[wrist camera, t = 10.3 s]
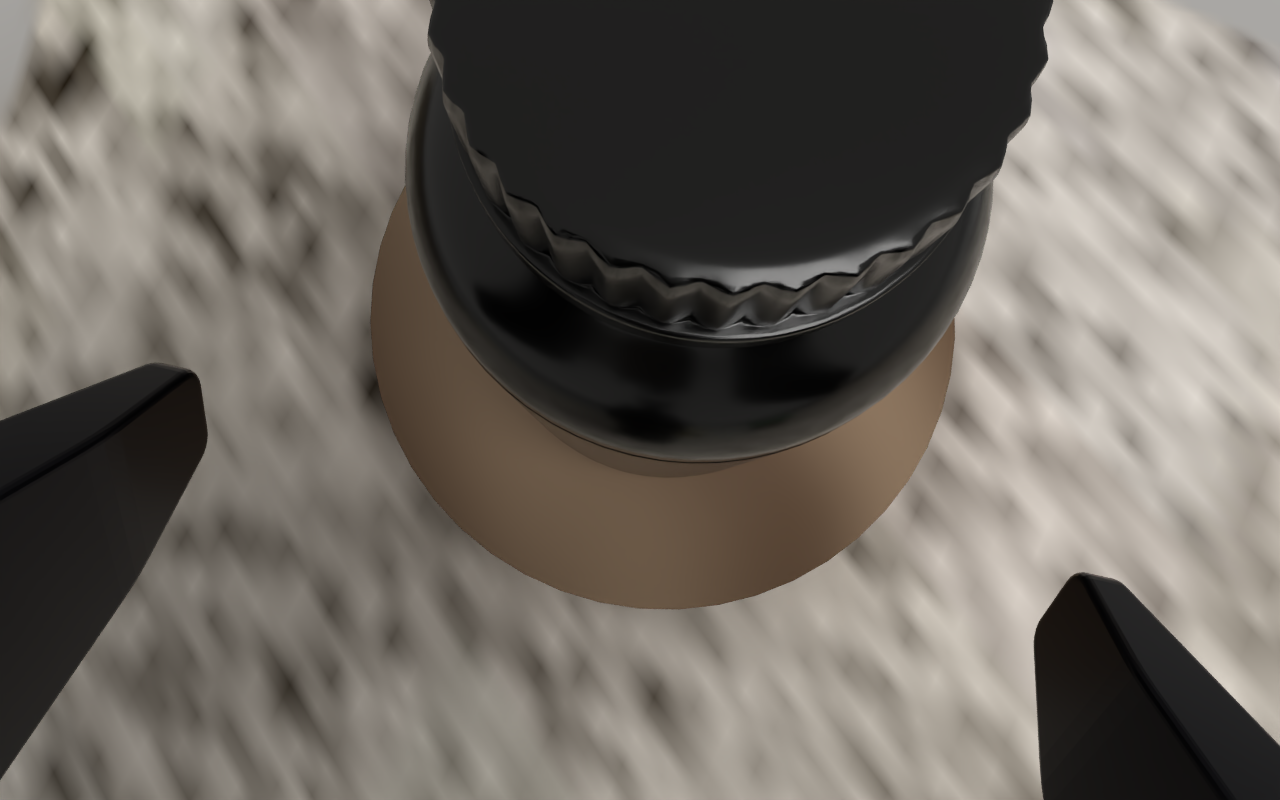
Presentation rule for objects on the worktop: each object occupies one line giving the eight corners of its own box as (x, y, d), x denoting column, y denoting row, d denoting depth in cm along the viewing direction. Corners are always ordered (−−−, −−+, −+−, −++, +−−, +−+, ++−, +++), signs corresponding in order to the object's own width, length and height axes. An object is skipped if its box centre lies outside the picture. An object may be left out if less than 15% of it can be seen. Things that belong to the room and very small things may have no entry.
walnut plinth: (491, 658, 22) (463, 689, 18) (358, 191, 23) (304, 124, 19) (963, 506, 22) (1038, 504, 18) (806, 63, 24) (845, -28, 20)
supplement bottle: (483, 173, 19) (255, -408, 7) (806, 141, 19) (1116, -470, 7) (514, 503, 18) (315, 479, 6) (852, 465, 18) (1287, 373, 6)
